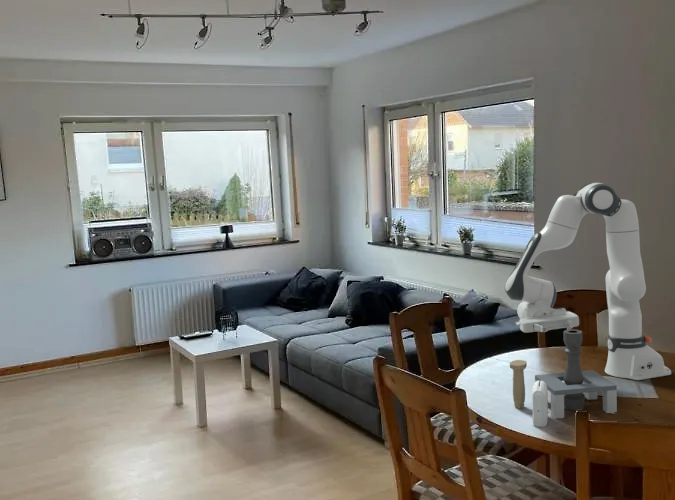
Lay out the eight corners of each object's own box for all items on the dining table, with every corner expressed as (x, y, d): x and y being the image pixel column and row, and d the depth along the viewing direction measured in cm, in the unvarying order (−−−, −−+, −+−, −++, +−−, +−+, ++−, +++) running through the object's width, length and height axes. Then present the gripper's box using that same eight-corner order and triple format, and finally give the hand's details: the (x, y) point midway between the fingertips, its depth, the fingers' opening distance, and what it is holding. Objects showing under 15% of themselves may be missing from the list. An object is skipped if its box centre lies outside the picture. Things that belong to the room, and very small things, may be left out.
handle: (530, 405, 220) (529, 361, 218) (521, 411, 215) (520, 366, 213) (516, 402, 223) (515, 359, 221) (508, 408, 218) (506, 364, 216)
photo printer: (546, 428, 201) (546, 388, 200) (532, 427, 203) (531, 387, 201) (548, 415, 211) (547, 377, 209) (534, 414, 212) (533, 377, 211)
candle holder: (587, 409, 213) (586, 333, 210) (568, 411, 213) (566, 334, 210) (579, 402, 220) (578, 328, 216) (561, 404, 220) (559, 329, 216)
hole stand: (593, 395, 225) (592, 370, 224) (616, 413, 209) (616, 385, 208) (535, 401, 224) (534, 375, 223) (554, 418, 208) (554, 390, 207)
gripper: (513, 314, 239) (527, 322, 226) (568, 307, 241) (585, 315, 227) (514, 331, 240) (528, 340, 226) (569, 324, 242) (586, 333, 228)
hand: (557, 327), depth 227 cm, fingers open, 8 cm apart
